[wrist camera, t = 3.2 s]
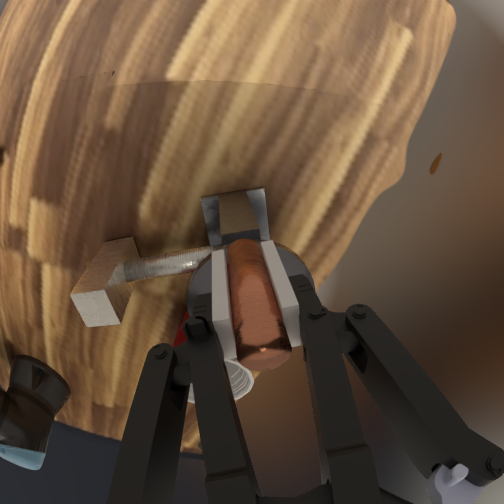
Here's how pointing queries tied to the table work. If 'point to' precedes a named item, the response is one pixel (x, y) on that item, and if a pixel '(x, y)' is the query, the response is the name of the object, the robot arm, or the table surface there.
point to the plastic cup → (236, 372)
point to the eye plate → (236, 216)
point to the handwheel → (252, 301)
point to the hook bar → (125, 277)
